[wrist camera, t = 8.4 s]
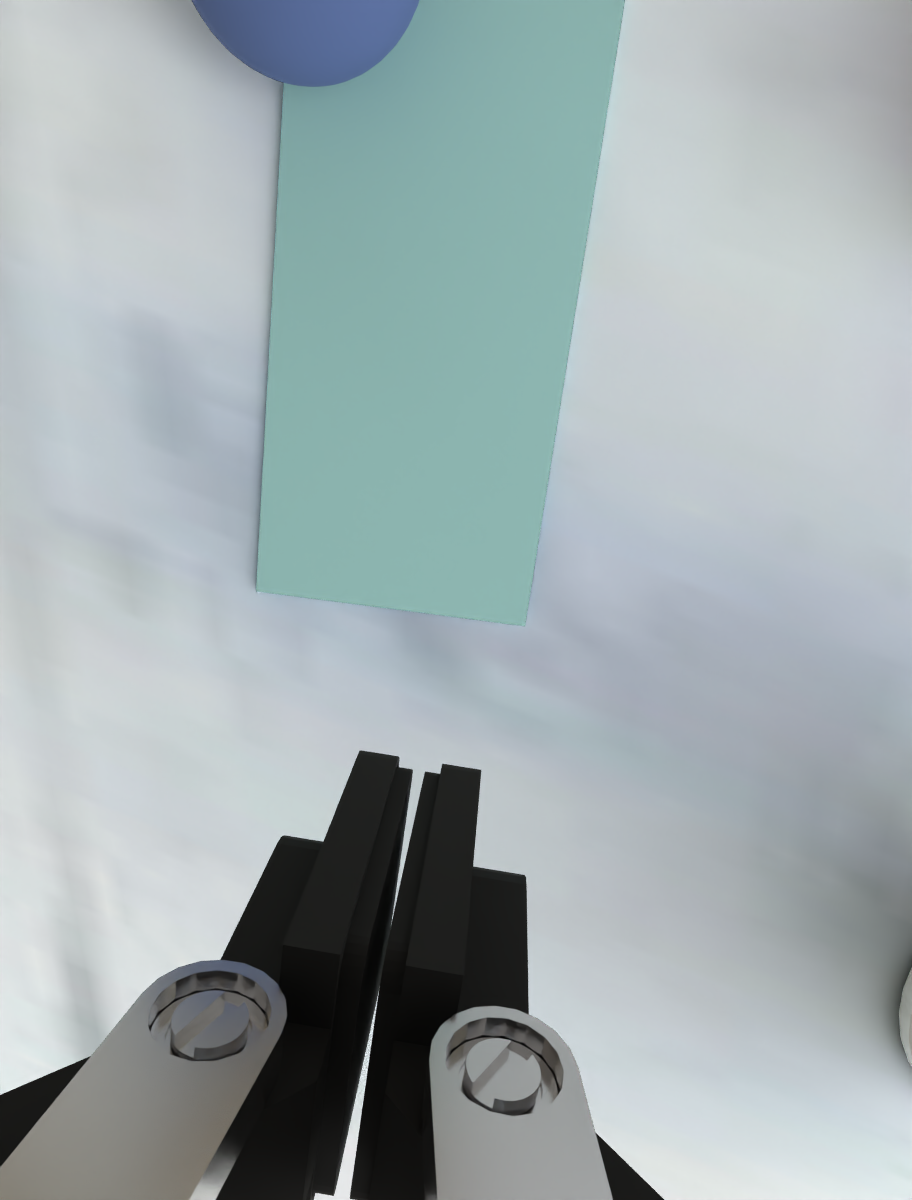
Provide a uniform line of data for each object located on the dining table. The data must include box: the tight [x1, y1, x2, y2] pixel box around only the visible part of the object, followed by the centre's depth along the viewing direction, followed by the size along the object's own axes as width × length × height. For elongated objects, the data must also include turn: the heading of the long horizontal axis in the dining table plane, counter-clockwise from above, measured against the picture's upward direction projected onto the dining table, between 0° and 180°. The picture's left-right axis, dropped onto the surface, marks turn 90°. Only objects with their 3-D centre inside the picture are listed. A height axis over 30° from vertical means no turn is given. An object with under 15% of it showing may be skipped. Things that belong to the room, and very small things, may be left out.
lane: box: [256, 0, 625, 626], centre depth 24 cm, size 9×30×1 cm, turn 173°
